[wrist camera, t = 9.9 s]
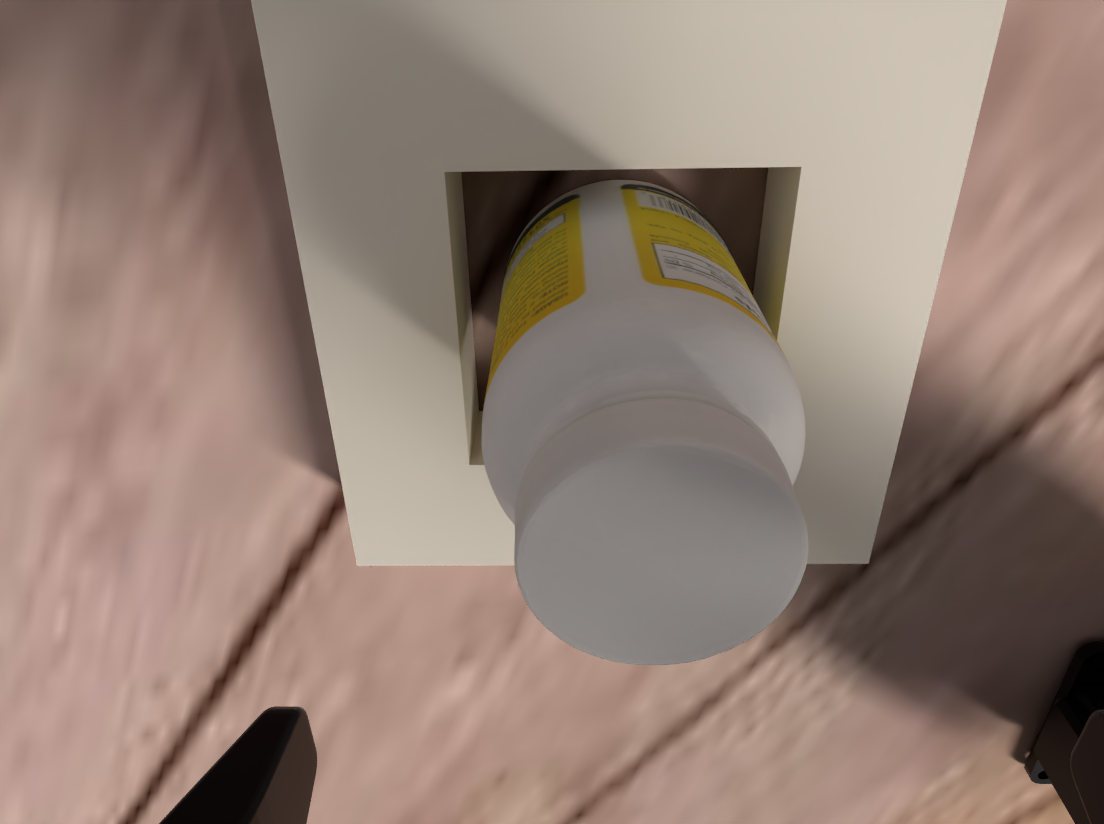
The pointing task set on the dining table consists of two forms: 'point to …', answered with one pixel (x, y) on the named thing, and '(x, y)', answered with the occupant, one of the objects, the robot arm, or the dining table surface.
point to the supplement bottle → (642, 431)
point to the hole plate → (603, 144)
